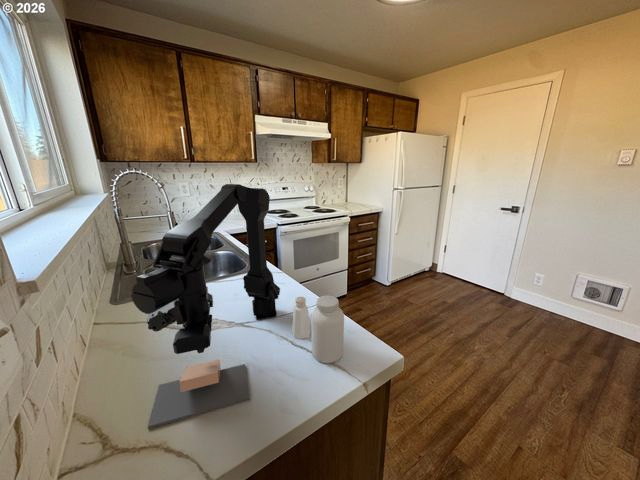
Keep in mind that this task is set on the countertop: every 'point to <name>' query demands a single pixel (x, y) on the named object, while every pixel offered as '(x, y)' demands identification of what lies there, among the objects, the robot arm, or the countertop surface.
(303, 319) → the pepper shaker
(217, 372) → the tile
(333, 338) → the pill bottle
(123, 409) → the countertop surface
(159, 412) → the mat
